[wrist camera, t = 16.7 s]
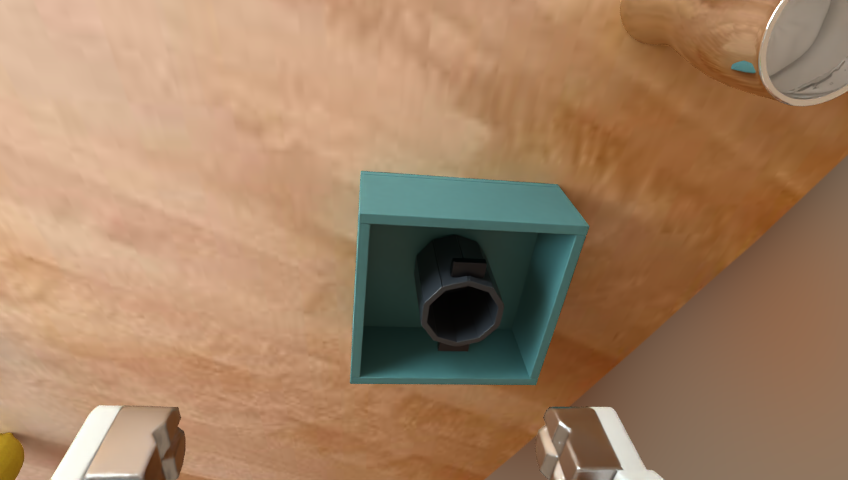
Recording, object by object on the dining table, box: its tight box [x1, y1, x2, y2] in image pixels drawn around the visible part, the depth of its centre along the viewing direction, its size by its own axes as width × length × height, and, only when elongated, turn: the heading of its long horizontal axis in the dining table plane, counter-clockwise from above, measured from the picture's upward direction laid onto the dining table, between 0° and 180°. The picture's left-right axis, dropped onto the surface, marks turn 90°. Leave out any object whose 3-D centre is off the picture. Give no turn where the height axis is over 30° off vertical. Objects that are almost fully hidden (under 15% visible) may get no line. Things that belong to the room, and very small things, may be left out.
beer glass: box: [620, 0, 848, 106], centre depth 28 cm, size 7×7×15 cm
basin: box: [350, 171, 589, 385], centre depth 41 cm, size 17×17×7 cm
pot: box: [414, 235, 504, 351], centre depth 41 cm, size 9×6×7 cm
